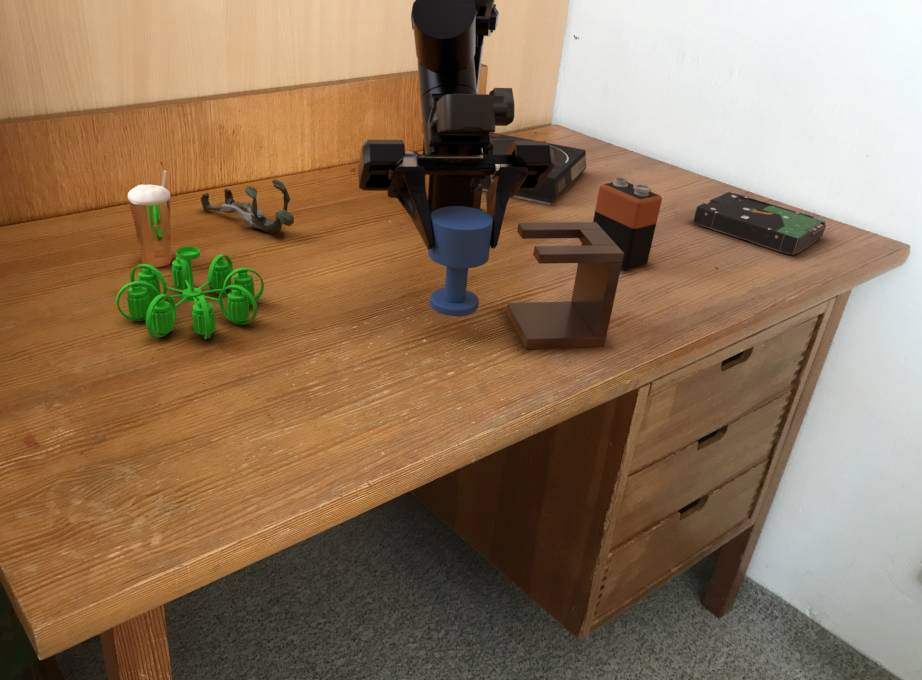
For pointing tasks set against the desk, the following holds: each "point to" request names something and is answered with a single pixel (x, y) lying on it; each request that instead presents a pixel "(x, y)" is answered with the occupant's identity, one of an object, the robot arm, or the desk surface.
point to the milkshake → (152, 222)
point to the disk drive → (760, 222)
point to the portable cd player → (559, 179)
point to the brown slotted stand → (591, 294)
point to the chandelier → (190, 294)
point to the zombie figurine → (254, 209)
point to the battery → (628, 218)
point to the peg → (459, 255)
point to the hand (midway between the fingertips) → (462, 247)
